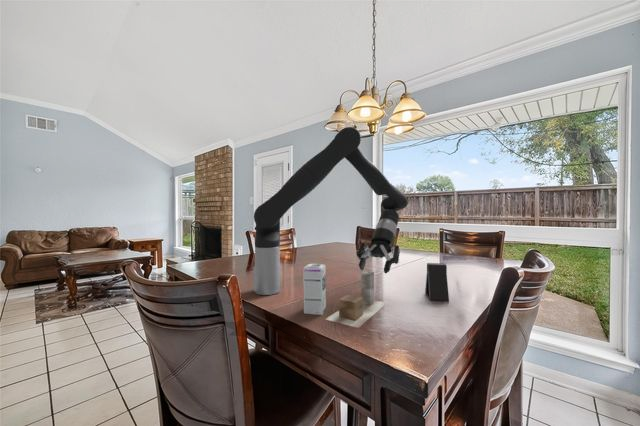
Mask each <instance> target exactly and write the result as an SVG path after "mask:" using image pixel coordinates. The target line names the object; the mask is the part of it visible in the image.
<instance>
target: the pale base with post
mask: <svg viewBox="0 0 640 426" xmlns="http://www.w3.org/2000/svg"><path fill="white" fill-rule="evenodd" d="M360 275H361V276H360V277H361V281H360V282H361V285H360V287H361V289H360V290H361V292H360V293H361V296H360V297H362V298H363V315H362V316H361V317H360V318H358V319H357V320H356V321H353V320H349V319H345V318H341V317H339V310H337V311H335V312H334V313H332V314H331V315H329V316H328V317H327V318H325V319H324V320H325V321H330V322H332V323H337V324H341V325H345V326H348V327H352V328H355V329H359V328H360V327H361V326H363V325H364V324H365V323H366V322H368V320H369V319H371V318H372V317H373V316H374V315H375V314H376V313H378V311H380V310H381V309H382V308H383V307H384V306H385V305H386V304H387V302H384V301H379V300H375V297H374V296H375V293H374V292H375V286H374V285H375V272H374V271H367V270H365V271H364V270H363V272H361V273H360Z"/></svg>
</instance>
